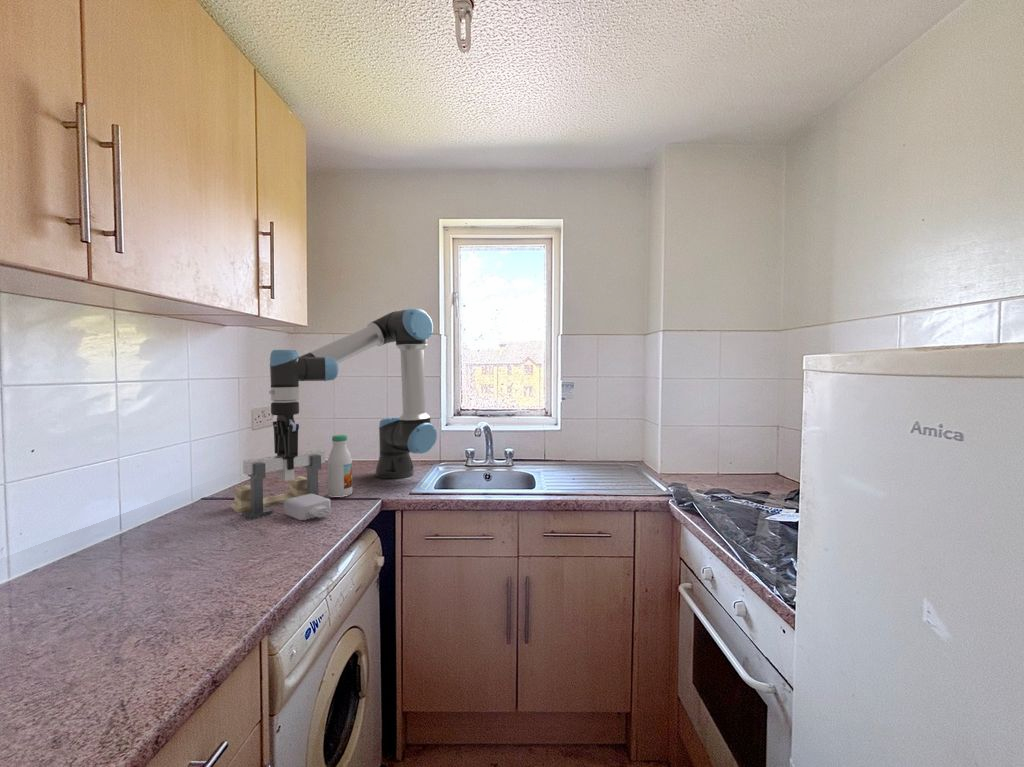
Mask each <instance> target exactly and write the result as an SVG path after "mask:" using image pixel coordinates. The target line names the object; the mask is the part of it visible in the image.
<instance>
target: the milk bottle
mask: <svg viewBox="0 0 1024 767" xmlns="http://www.w3.org/2000/svg"><path fill="white" fill-rule="evenodd" d="M331 440H332V447H331V450H330V452H329V455H328V458H327V496H328V495H331V496H343V495H349V494H351V493H353V460H352V455H351V453H350V451H349V449H348V446H347V442H348V436H347V435H346V434H336V435H332V438H331ZM351 495H352V494H351ZM349 496H350V495H349Z"/></svg>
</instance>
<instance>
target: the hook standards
mask: <svg viewBox="0 0 1024 767" xmlns="http://www.w3.org/2000/svg"><path fill="white" fill-rule="evenodd" d="M303 467H304V468H305V469H306V478H307V494H315V495H318V496H320V495H319V470H322V463H321V455H317V456H312V465H307V466H303ZM247 477H249V478H250V486H251V509H249V510H244V511H242V512H241V516H242V517H244V516H245V517H244V518H246V519H247V518H248V519H247V520H249V519H251V520H253V519H254V518H255V519H259V518H258V517H260V518H263V517H262V516H264V517H268V516H267V515H269V516H272V515H273V510H272V509H270V508H268V506H267V507H265V506H264V507H263V498H264V481H263V480H264V479H266V472H265V463H260V464H255V474H251V475H247ZM271 514H272V515H271ZM255 519H254V520H255Z"/></svg>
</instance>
